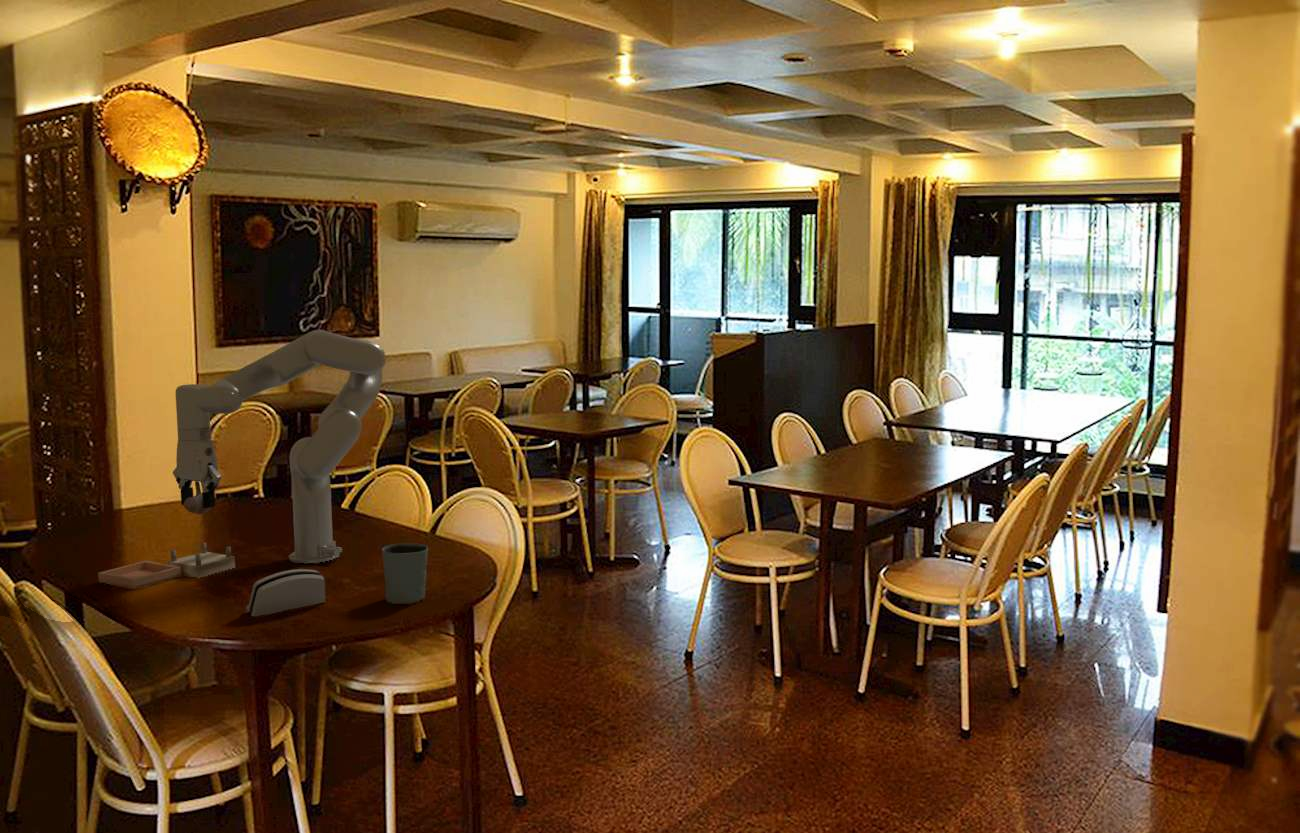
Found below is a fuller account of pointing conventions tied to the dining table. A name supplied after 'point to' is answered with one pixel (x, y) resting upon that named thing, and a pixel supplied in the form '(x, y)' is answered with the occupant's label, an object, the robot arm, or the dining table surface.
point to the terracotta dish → (139, 574)
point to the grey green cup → (405, 572)
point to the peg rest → (203, 562)
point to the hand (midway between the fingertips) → (198, 505)
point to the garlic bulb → (196, 502)
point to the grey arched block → (286, 591)
